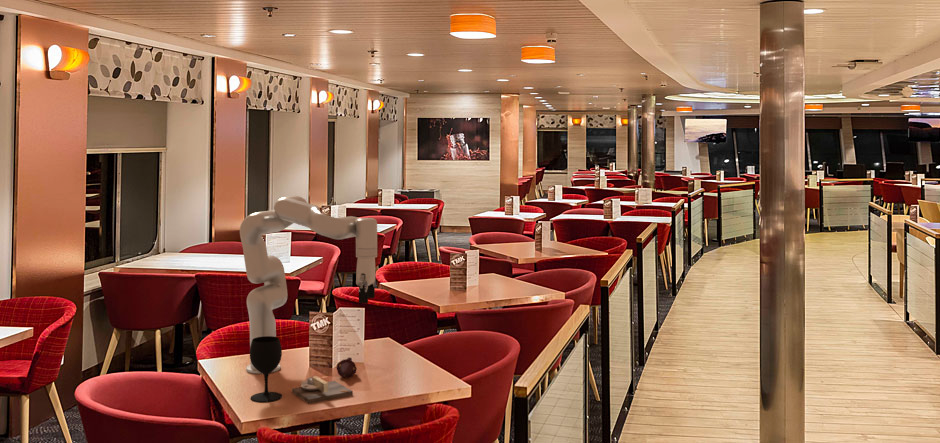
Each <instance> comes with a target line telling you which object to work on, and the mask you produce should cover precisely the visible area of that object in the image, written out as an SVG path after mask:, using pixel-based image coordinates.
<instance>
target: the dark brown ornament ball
mask: <svg viewBox="0 0 940 443" xmlns="http://www.w3.org/2000/svg"><path fill="white" fill-rule="evenodd" d="M356 365H357V364H356V363H355V362H354V361H353V360H352V357H347V359H342V360H340V361H339V362H338V363H337V364H336V371H337V374H338V376H340V377H342V378H344V379H345V378H346V379H347V378H348V379H349V378H352V377H353V376H354V375H355V374H356V373H357V370H358V369H357V366H356Z"/></svg>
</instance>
